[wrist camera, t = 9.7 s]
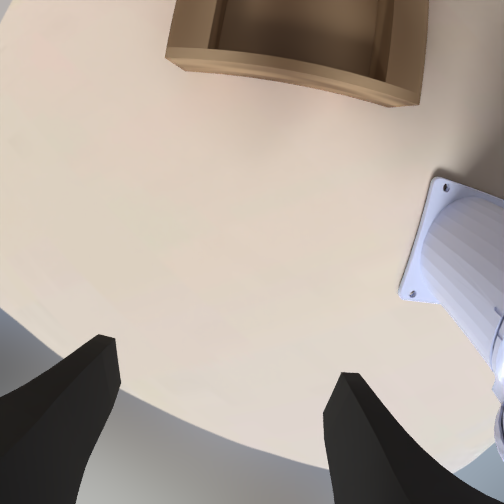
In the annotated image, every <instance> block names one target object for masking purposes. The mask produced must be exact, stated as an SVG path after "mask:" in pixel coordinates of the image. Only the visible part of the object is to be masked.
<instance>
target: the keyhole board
mask: <svg viewBox="0 0 504 504" xmlns="http://www.w3.org/2000/svg"><path fill="white" fill-rule="evenodd" d="M428 9H429V0H177V1H176V5H175V9H174V14H173V18H172V23H171V28H170V33H169V38H168V43H167V48H166V54H165V58H166V59H167V60H169V61H171V62H172V63H174V64H175V65H177V66H178V67H180V68H181V69H183V70H184V71H191V72H205V73H217V74H227V75H236V76H244V77H252V78H259V79H266V80H272V81H278V82H284V83H290V84H295V85H300V86H305V87H310V88H315V89H320V90H324V91H329V92H333V93H337V94H341V95H345V96H349V97H353V98H357V99H361V100H364V101H368V102H372V103H375V104H378V105H382V106H385V107H400V106H413V105H419V103H420V96H421V89H422V81H423V73H424V64H425V54H426V42H427V29H428Z"/></svg>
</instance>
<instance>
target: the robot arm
mask: <svg viewBox="0 0 504 504" xmlns="http://www.w3.org/2000/svg"><path fill="white" fill-rule="evenodd" d="M445 184H446V185H447V188H446V190H445V191H444V190H443V186H444V185H445ZM412 291H414V293H413V294H411V295H410V293H411V292H412ZM398 295H399V297H400V298H401V299H402V300H408V301H417V302H426V303H435V304H441V305H442V306H443V307H444V309H445V310H446V311H447V312H448V314H449V315H450V316H451V317H452V319H453V320H454V321H455V322H456V324H457V325H458V326H459V327H460V329H461V330H462V331H463V332H464V334H465V335H466V336H467V338H468V339H469V340H470V341H471V343H472V344H473V345H474V347H475V348H476V349H477V351H478V352H479V353H480V355H481V356H482V357H483V359H484V360H485V362H486V363H487V364H488V366H489V367H490V369H491V370H492V371H493V372H494V375H495V382H494V385H493V387H492V390H493V392H494V393H495V395H496V397H497V398H498V400H499V401H500V403H501V407H500V409H499V411H498V413H497V416H496V419H495V426H494V437H495V442H496V446H497V449H498V451H499V454H500V456H501V458H502V460H503V462H504V200H503V199H501V198H498V197H495V196H493V195H490V194H488V193H485V192H482V191H480V190H477V189H474V188H471V187H468V186H466V185H463V184H460V183H457V182H454V181H451V180H448V179H445V178H442V177H434V178H433V179H432V181H431V184H430V188H429V192H428V196H427V200H426V203H425V207H424V211H423V215H422V218H421V222H420V225H419V229H418V232H417V235H416V239H415V242H414V245H413V248H412V251H411V255H410V258H409V261H408V264H407V267H406V270H405V273H404V275H403V278H402V281H401V284H400V287H399V289H398ZM120 384H121V379H120V372H119V365H118V358H117V350H116V341H115V338H112V337H108V336H104V335H100V334H98V335H97V336H95V337H94V338H92V339H91V340H89V341H88V342H87V343H85V344H84V345H82V346H81V347H80V348H78V349H77V350H76V351H74V352H73V353H71V354H70V355H69V356H67V357H66V358H65V359H63V360H62V361H60V362H59V363H58V364H56V365H55V366H53V367H52V368H50V369H49V370H47V371H46V372H44V373H42V374H41V375H39V376H38V377H36V378H35V379H33V380H31V381H30V382H28V383H27V384H25V385H23V386H21V387H20V388H18V389H16V390H14V391H12V392H10V393H8V394H6V395H4V396H2V397H0V504H75V503H76V499H77V495H78V491H79V487H80V484H81V481H82V477H83V473H84V470H85V467H86V465H87V462H88V460H89V457H90V455H91V453H92V451H93V449H94V446H95V444H96V442H97V440H98V438H99V436H100V434H101V432H102V430H103V427H104V425H105V423H106V421H107V419H108V417H109V415H110V413H111V410H112V408H113V406H114V403H115V400H116V397H117V394H118V391H119V387H120ZM323 425H324V441H325V447H326V453H327V459H328V464H329V470H330V476H331V481H332V486H333V493H334V502H335V504H504V503H503V502H500V501H498V500H496V499H494V498H492V497H489V496H487V495H485V494H484V493H482V492H480V491H478V490H476V489H475V488H473V487H471V486H469V485H468V484H467V483H465V482H463V481H462V480H460V479H459V478H458V477H456V476H455V475H453V474H452V473H451V472H449V471H448V470H447V469H445V468H444V467H443V466H442V465H440V464H439V463H438V462H437V461H436V460H435V459H433V458H432V457H431V456H430V455H429V454H428V453H427V452H426V451H425V450H424V449H422V448H421V447H420V446H419V445H418V444H417V443H416V441H415V440H414V439H413V438H412V437H411V436H410V435H409V434H408V433H407V432H406V431H405V430H404V429H403V427H402V426H401V425H400V424H399V423H398V422H397V420H396V419H395V418H394V417H393V416H392V414H391V413H390V412H389V411H388V410H387V408H386V407H385V406H384V405H383V403H382V402H381V401H380V399H379V398H378V397H377V396H376V394H375V393H374V392H373V390H372V389H371V388H370V387H369V385H368V384H367V383H366V381H365V380H364V379H363V378H362V376H361V375H360V374H359V373H345V372H341V375H340V377H339V379H338V381H337V384H336V386H335V388H334V390H333V393H332V395H331V397H330V399H329V401H328V403H327V405H326V408H325V410H324V412H323Z"/></svg>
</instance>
